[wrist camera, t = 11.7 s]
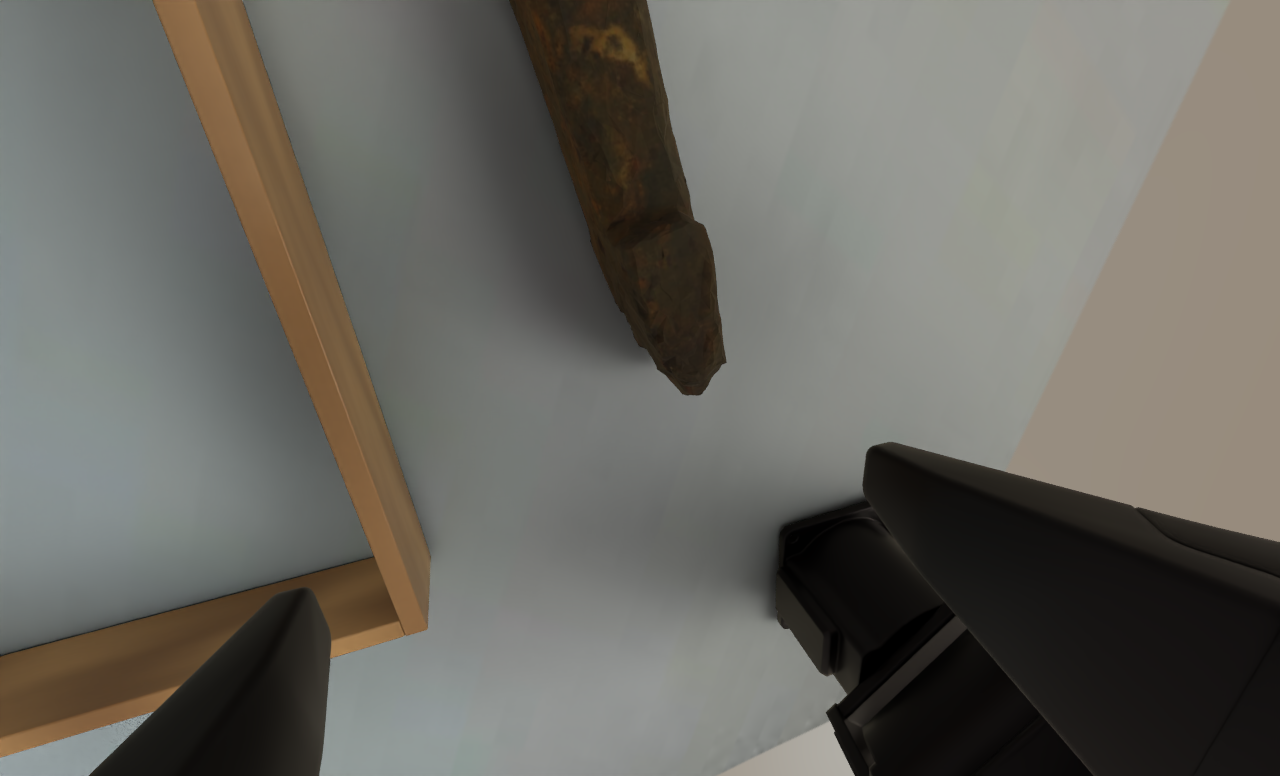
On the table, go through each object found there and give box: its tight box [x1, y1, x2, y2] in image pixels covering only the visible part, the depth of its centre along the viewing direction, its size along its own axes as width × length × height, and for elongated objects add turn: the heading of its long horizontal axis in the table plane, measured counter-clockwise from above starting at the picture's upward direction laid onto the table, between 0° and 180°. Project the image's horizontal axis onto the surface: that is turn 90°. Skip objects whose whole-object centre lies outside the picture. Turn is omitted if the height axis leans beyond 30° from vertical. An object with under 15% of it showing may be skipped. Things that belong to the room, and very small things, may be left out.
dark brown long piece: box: [509, 0, 726, 395], centre depth 14 cm, size 19×4×5 cm, turn 13°
